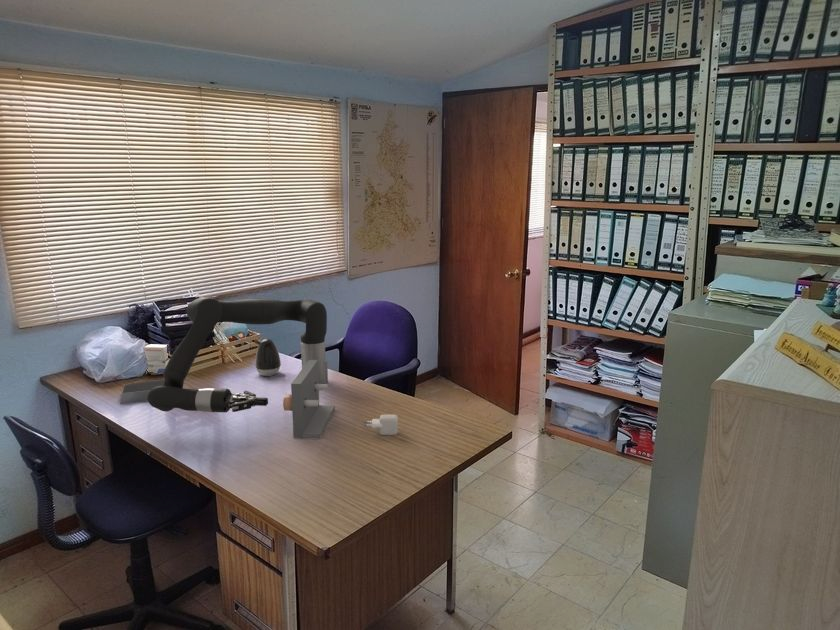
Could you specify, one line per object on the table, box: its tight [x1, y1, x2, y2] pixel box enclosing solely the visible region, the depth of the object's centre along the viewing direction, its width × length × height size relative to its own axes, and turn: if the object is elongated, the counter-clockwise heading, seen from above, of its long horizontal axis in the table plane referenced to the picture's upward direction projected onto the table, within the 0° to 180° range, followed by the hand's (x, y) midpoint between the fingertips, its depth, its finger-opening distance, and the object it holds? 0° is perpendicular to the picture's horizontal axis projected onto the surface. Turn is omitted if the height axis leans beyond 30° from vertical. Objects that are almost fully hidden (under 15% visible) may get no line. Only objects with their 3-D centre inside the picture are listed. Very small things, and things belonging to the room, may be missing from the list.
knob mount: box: [290, 360, 336, 440], centre depth 198 cm, size 8×24×18 cm, turn 177°
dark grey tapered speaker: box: [253, 338, 282, 377], centre depth 246 cm, size 10×10×15 cm
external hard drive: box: [120, 379, 165, 404], centre depth 224 cm, size 13×19×4 cm
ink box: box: [143, 343, 169, 373], centre depth 248 cm, size 9×5×12 cm, turn 84°
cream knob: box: [314, 383, 329, 391], centre depth 205 cm, size 10×5×5 cm, turn 87°
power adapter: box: [362, 414, 399, 436], centre depth 192 cm, size 11×5×6 cm, turn 92°
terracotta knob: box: [282, 394, 320, 412], centre depth 191 cm, size 10×5×5 cm, turn 87°
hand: (267, 401), depth 191 cm, fingers closed
